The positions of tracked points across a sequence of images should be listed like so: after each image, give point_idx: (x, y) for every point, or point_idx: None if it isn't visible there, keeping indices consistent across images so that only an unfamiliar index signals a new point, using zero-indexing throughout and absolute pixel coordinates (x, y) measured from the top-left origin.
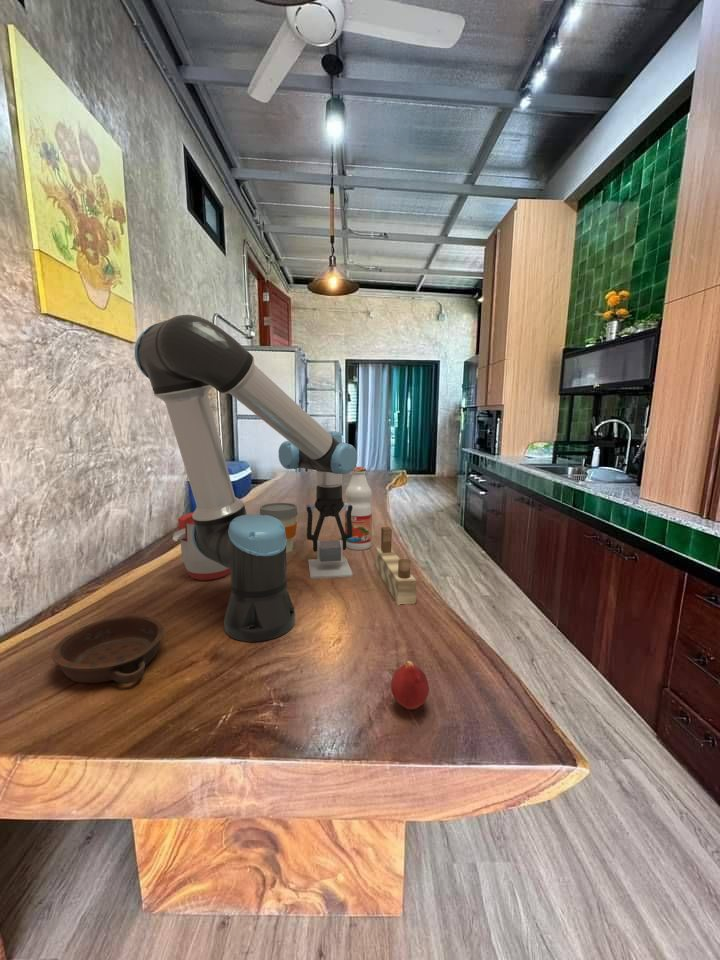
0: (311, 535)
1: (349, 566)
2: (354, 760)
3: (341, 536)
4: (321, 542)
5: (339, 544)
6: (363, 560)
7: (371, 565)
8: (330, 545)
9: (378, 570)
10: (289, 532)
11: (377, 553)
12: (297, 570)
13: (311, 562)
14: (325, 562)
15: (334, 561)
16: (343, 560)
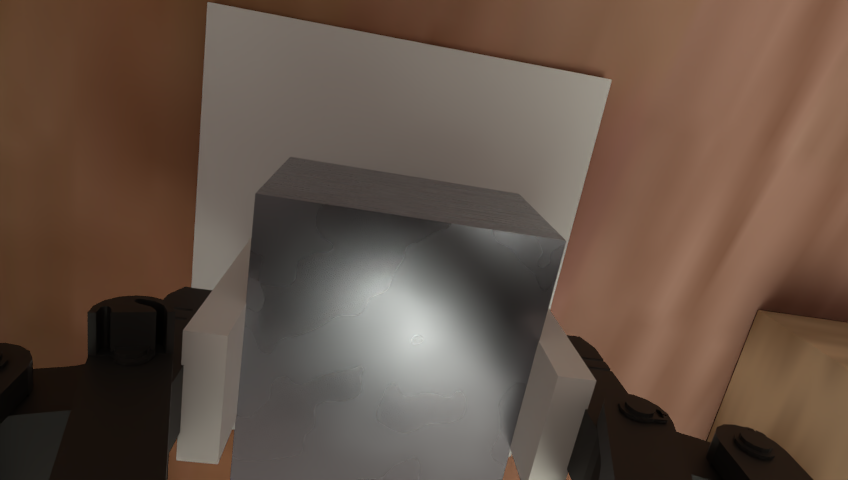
0: (23, 468)
1: (549, 308)
2: None
3: (604, 401)
4: (288, 273)
5: (511, 422)
6: (740, 157)
7: (738, 288)
8: (385, 425)
9: (722, 419)
10: None
11: (833, 464)
12: (87, 216)
13: (232, 105)
14: (372, 151)
15: (464, 152)
16: (556, 151)
